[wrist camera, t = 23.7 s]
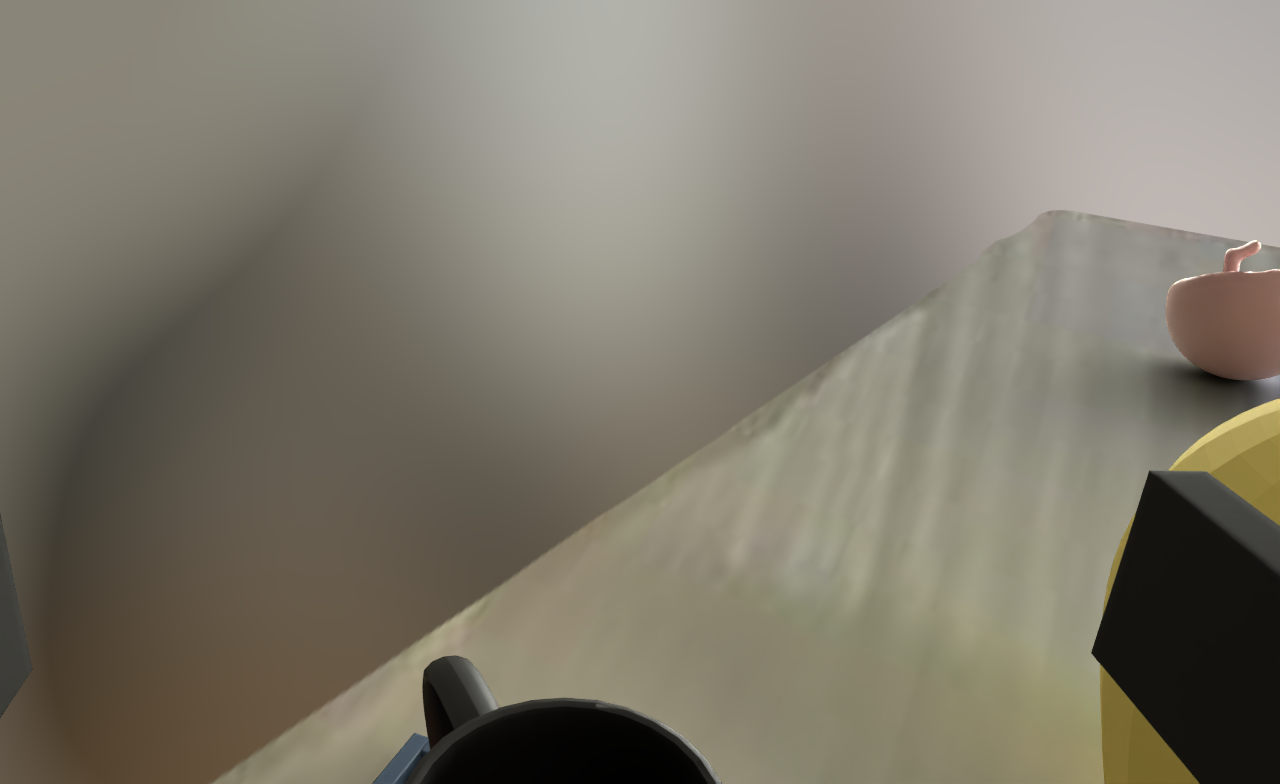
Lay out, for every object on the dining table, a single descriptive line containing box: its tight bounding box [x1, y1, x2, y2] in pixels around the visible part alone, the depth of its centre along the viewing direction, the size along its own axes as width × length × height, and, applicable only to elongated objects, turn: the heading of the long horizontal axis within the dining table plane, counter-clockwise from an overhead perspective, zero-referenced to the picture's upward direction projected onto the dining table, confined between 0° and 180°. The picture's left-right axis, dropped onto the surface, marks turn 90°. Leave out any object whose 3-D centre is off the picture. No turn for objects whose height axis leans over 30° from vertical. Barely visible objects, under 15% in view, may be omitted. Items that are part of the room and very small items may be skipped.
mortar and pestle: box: [1166, 240, 1280, 380], centre depth 83 cm, size 12×12×12 cm
